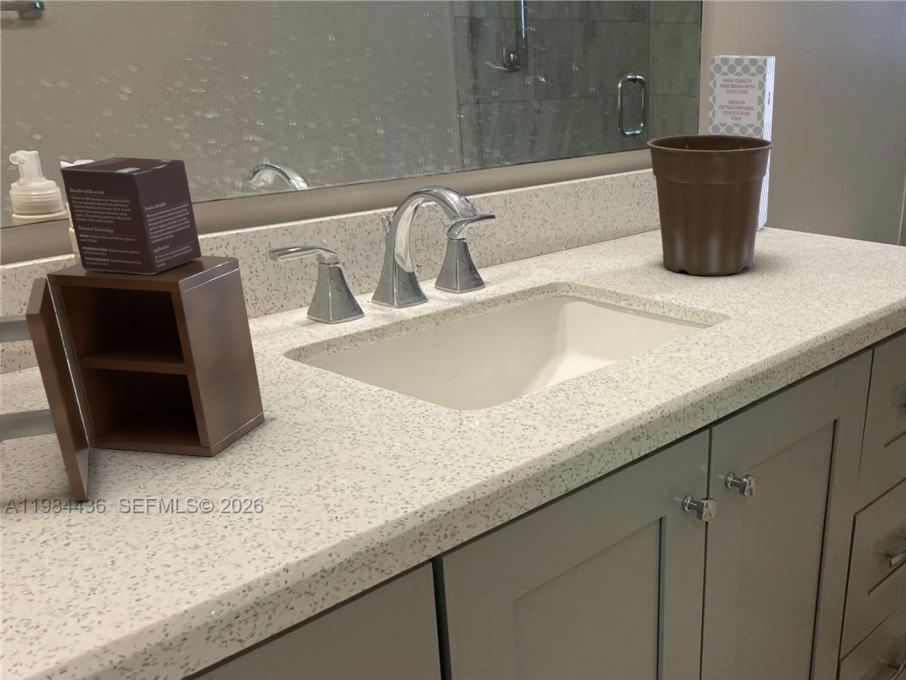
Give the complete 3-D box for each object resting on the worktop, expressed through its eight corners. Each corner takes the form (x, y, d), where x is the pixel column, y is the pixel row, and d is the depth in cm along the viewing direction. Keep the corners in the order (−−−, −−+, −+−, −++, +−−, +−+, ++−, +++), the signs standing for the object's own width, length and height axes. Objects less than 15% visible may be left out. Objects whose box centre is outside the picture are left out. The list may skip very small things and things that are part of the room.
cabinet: (212, 457, 80) (178, 281, 74) (89, 447, 81) (46, 273, 75) (265, 420, 87) (238, 257, 81) (151, 411, 88) (116, 250, 82)
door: (-31, 518, 70) (-92, 324, 64) (-16, 462, 78) (-69, 286, 72) (87, 499, 72) (39, 312, 67) (88, 447, 81) (46, 277, 75)
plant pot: (668, 284, 132) (670, 150, 125) (631, 256, 145) (631, 135, 138) (785, 276, 136) (793, 147, 129) (739, 250, 150) (744, 133, 143)
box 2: (705, 227, 165) (710, 57, 155) (716, 218, 173) (721, 54, 162) (758, 230, 164) (766, 58, 153) (766, 221, 171) (775, 56, 160)
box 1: (135, 254, 81) (115, 156, 78) (204, 258, 80) (186, 159, 77) (81, 271, 76) (56, 167, 73) (154, 276, 75) (132, 171, 72)
